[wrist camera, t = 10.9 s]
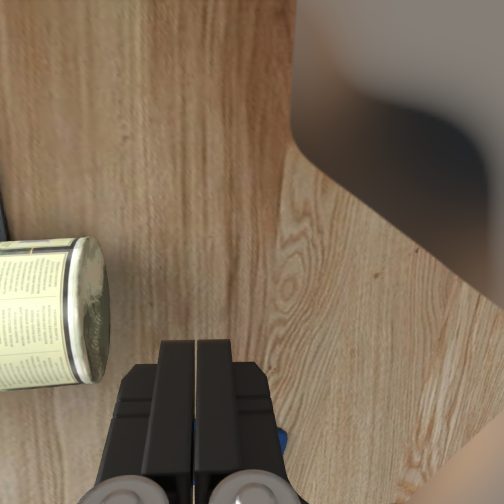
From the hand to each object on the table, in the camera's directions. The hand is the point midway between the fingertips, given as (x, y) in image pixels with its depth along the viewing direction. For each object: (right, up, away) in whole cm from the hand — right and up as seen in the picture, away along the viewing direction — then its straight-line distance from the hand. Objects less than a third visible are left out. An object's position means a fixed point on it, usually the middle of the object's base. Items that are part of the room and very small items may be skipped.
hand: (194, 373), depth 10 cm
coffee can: (-9, -1, +22) cm, 24 cm away
